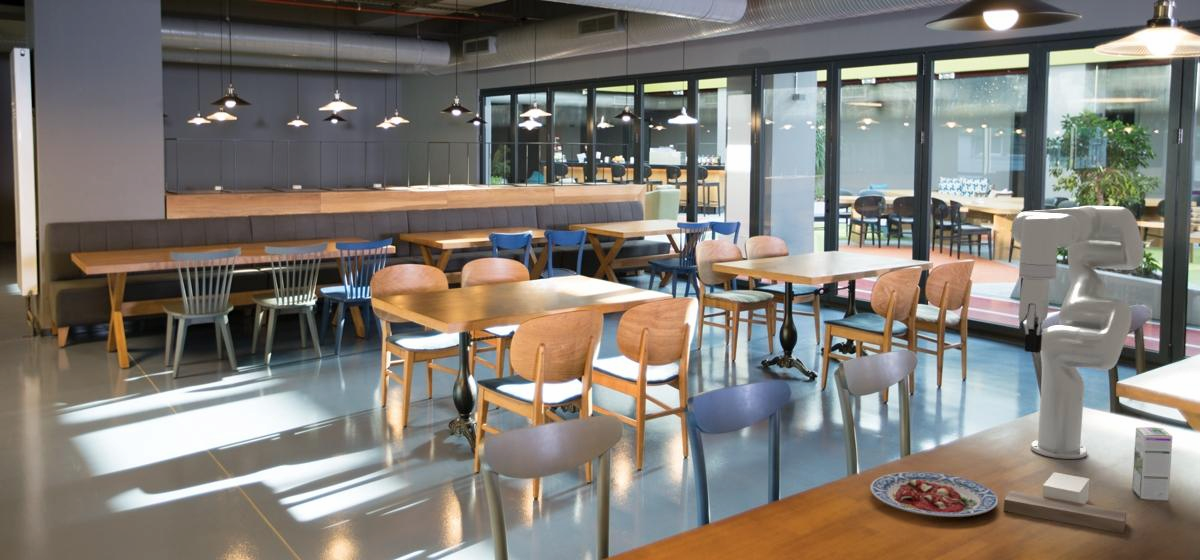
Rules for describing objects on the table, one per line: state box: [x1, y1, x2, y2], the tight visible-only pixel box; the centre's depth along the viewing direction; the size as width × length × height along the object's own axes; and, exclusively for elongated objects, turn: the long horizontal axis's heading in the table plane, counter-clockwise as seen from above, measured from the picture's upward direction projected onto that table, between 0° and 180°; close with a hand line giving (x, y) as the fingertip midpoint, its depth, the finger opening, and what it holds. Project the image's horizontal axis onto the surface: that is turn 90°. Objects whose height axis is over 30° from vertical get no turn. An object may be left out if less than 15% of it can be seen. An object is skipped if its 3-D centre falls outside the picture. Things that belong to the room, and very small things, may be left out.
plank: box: [1003, 490, 1128, 534], centre depth 197 cm, size 6×22×2 cm, turn 57°
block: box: [1042, 471, 1090, 504], centre depth 204 cm, size 10×7×5 cm
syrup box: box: [1132, 426, 1173, 501], centre depth 207 cm, size 6×6×14 cm
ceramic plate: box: [870, 471, 999, 518], centre depth 206 cm, size 26×26×3 cm
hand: (1032, 351), depth 218 cm, fingers closed
